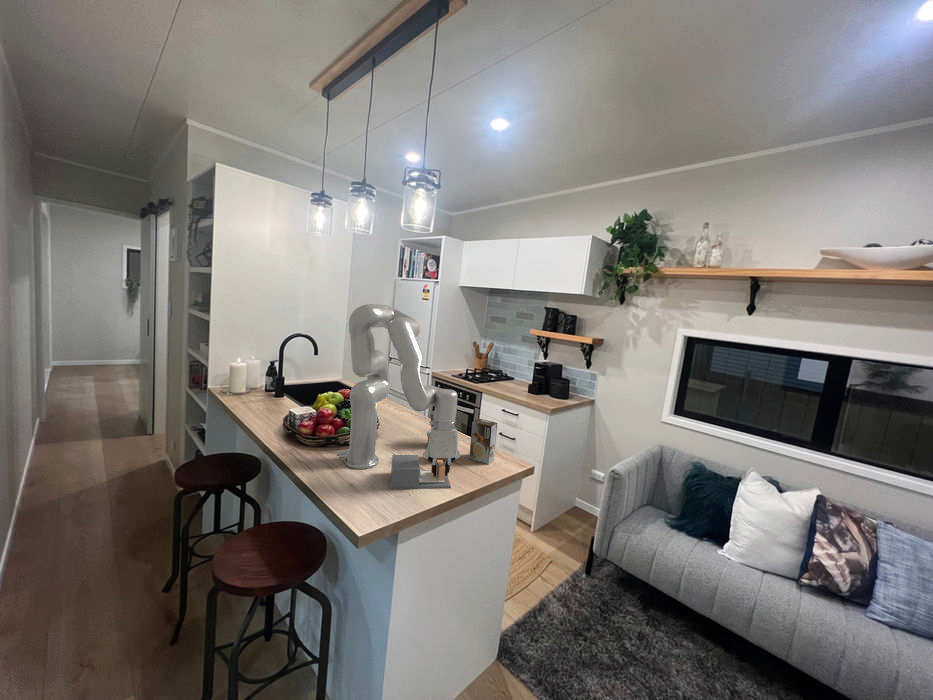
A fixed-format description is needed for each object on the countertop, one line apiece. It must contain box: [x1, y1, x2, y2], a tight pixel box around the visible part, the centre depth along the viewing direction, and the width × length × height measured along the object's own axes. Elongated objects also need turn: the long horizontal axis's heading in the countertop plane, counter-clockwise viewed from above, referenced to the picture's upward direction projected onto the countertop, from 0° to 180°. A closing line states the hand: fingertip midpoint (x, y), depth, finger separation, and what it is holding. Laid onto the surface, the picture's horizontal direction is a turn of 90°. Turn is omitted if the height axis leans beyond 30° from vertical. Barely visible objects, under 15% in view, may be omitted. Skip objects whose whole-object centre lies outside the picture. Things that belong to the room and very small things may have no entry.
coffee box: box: [468, 418, 498, 465], centre depth 154 cm, size 9×6×16 cm
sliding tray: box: [419, 460, 445, 483], centre depth 131 cm, size 18×8×5 cm, turn 102°
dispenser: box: [390, 454, 452, 490], centre depth 131 cm, size 20×12×7 cm, turn 102°
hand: (440, 473), depth 133 cm, fingers open, 3 cm apart
